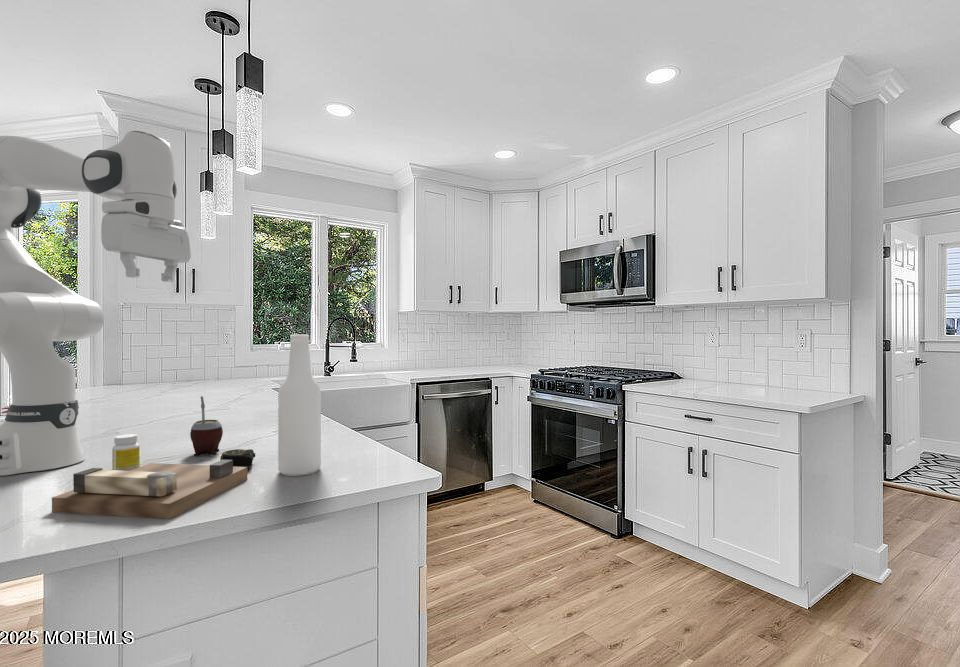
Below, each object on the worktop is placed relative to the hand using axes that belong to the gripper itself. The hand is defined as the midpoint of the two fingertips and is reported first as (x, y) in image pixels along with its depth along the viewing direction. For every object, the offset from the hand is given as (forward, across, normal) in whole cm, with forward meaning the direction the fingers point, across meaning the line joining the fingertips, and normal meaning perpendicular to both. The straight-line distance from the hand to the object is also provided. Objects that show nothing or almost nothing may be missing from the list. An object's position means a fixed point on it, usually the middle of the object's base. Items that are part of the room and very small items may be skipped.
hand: (150, 279), depth 105 cm
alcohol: (+42, -9, +28) cm, 51 cm away
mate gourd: (+42, -20, -2) cm, 46 cm away
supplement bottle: (+42, -2, -8) cm, 42 cm away
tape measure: (+42, -11, +13) cm, 45 cm away
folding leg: (+39, +16, +8) cm, 42 cm away
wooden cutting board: (+41, +9, +8) cm, 43 cm away
